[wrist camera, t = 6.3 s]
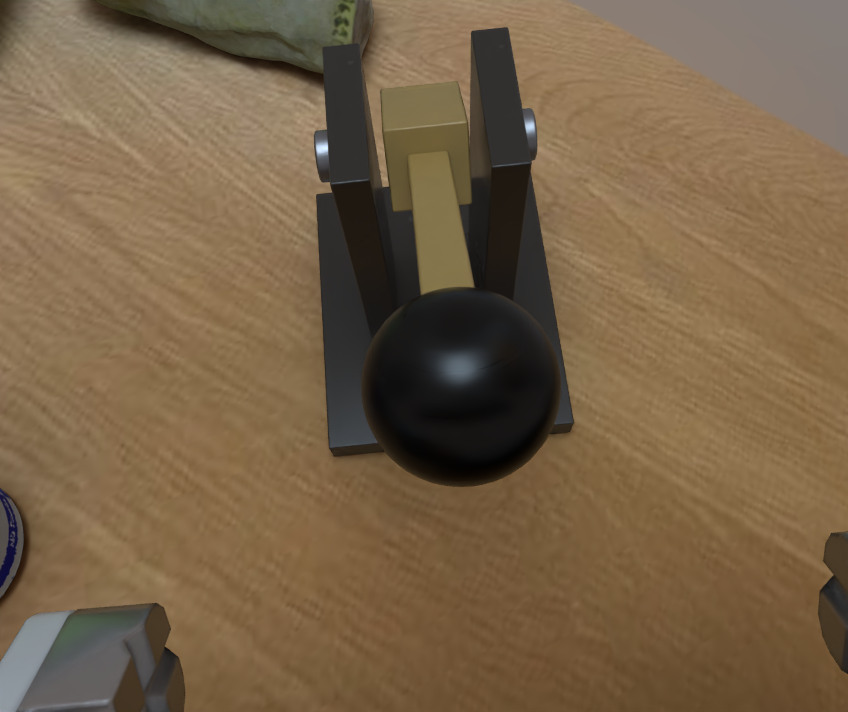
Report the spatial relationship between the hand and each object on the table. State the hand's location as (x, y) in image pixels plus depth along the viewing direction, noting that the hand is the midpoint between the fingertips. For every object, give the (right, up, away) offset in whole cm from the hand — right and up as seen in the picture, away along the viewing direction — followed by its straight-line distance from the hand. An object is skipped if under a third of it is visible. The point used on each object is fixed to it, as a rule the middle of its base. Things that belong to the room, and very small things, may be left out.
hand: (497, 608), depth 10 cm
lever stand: (0, +5, +22) cm, 23 cm away
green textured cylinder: (-10, +19, +29) cm, 36 cm away
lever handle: (0, +4, +9) cm, 10 cm away
